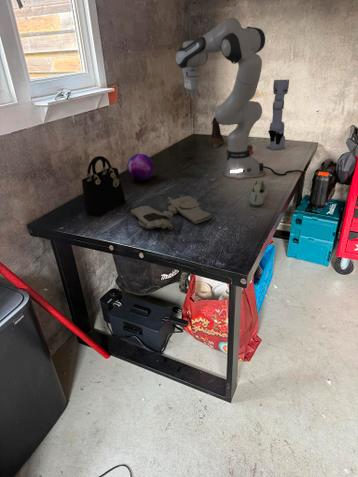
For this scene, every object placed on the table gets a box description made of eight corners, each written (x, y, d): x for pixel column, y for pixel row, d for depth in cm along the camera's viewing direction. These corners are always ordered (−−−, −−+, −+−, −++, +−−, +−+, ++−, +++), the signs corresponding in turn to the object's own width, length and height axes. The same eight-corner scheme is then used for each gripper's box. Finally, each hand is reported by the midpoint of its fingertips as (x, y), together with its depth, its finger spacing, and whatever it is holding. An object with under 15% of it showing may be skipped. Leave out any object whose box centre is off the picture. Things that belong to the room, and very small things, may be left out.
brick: (250, 151, 230) (250, 144, 228) (252, 152, 227) (252, 146, 225) (243, 151, 230) (243, 145, 227) (245, 153, 226) (245, 146, 224)
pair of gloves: (147, 237, 131) (146, 225, 129) (129, 213, 152) (128, 202, 149) (214, 220, 141) (214, 209, 138) (188, 199, 162) (188, 189, 159)
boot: (224, 140, 260) (225, 113, 250) (221, 148, 240) (222, 119, 230) (213, 140, 262) (213, 113, 252) (210, 148, 242) (209, 119, 232)
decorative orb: (160, 177, 192) (157, 152, 184) (144, 186, 181) (141, 159, 174) (139, 174, 199) (137, 149, 192) (123, 182, 189) (119, 156, 181)
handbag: (98, 217, 149) (87, 164, 137) (84, 214, 154) (72, 161, 141) (127, 201, 164) (120, 151, 152) (113, 198, 169) (105, 149, 156)
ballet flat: (269, 188, 169) (270, 173, 165) (265, 208, 149) (266, 191, 145) (252, 187, 171) (253, 172, 167) (246, 206, 151) (247, 190, 147)
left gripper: (181, 71, 203) (182, 95, 210) (188, 73, 186) (189, 99, 193) (191, 71, 204) (191, 95, 211) (199, 72, 187) (200, 99, 194)
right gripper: (265, 119, 212) (264, 141, 219) (276, 123, 200) (274, 146, 207) (276, 118, 213) (274, 139, 220) (287, 122, 201) (284, 145, 208)
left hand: (190, 97), depth 202 cm, fingers open, 8 cm apart
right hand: (274, 142), depth 213 cm, fingers open, 7 cm apart
